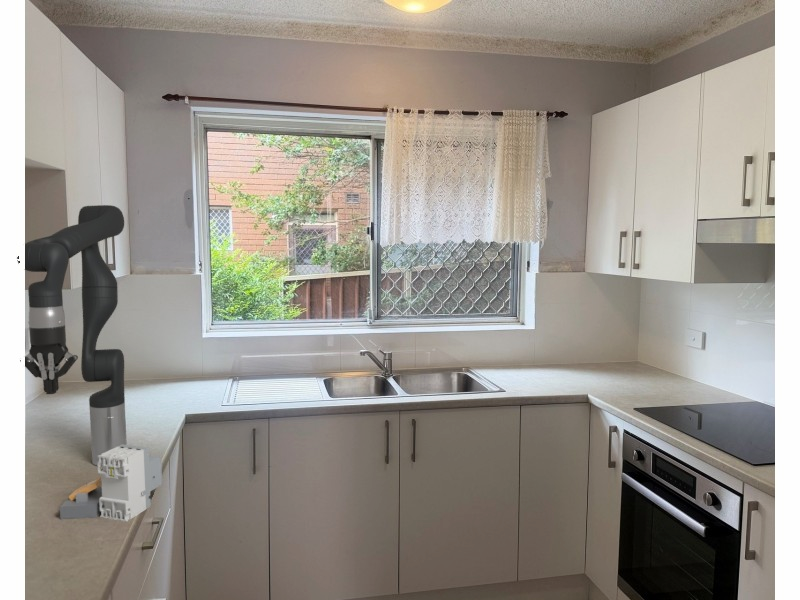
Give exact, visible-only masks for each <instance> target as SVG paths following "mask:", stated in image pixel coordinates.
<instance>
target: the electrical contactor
mask: <svg viewBox="0 0 800 600" xmlns="http://www.w3.org/2000/svg"><path fill="white" fill-rule="evenodd" d="M149 450H150V449H149V447H147V446H139V445H132V444H127V445H125V444H122V445H120V446H118V447H115V448H113V449H111V450H109V451H107V452H105V453H102V454H101V455H98V457H99V462H98V464H97V465H98V466H97V465H96V466H97V474H100V477H101V487H102V497H100V498H99V505H100V511H101V513H100V515H99V518H101V517H103V518H102V519H107V518H109V519H108V520H113V519H114V520H115V521H119V520H121V521H120V522H125V521H126V523H127V522H128V521H129V520H131V519H133V518H135V517H136V516H138V515H139V514H141V513H143V512H144V511H145V510H147V509H148V508H149V509H150V507H151V506H152V505H151V504H152V503H151V501H152V499H151V498H150V497H151V492H152V491H154V490H155V489H156V488H159V487H161V486H162V485H163V472H162V471H163V470H162V469H163V463H162V455H157V454H151V453H150V452H149ZM101 467H102V468H101ZM102 505H104V507H103V508H102ZM108 516H109V517H108ZM114 520H113V521H114Z"/></svg>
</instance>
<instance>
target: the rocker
mask: <svg viewBox="0 0 800 600" xmlns="http://www.w3.org/2000/svg"><path fill="white" fill-rule="evenodd" d="M100 485H102V483H101V476H100V477H97V478H96V479H93V480H92V481H89V482H88V484H87V483H85V484H84V485H82V486H80V487H78V488H76V489H75V490H74V491H72V493H71V494H70V495H68V498H70V500H71V501H72V500H74V499H76V494H77V493H87V492H88V493H89V492H90V491H92V490H94V489H96V488H98V487H99V486H100Z"/></svg>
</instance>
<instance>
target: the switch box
mask: <svg viewBox="0 0 800 600" xmlns="http://www.w3.org/2000/svg"><path fill="white" fill-rule="evenodd" d="M88 483H89V482H88ZM88 483H87V482H86V484H88ZM100 497H102V486H101V487H99V486H98V488H96V489H94V490H92V491H90V492H89V493H88V492H87V493H77V494H76V499H74V500H72V501H71V500H70V498H69V497H68V498H67V499H65V501H64V502H63V503H62V504H61V505H60V506H59V517H60V520H66V519H67V520H68V519H69V520H70V519H87V518H97V517H98V516H100V515H101V511H100V505H99V498H100ZM103 507H104V505H102V508H103Z"/></svg>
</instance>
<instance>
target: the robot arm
mask: <svg viewBox="0 0 800 600" xmlns="http://www.w3.org/2000/svg"><path fill="white" fill-rule="evenodd" d="M77 218H78V219H77V224H72V225H69V226H67V227H64V228H62V229H60V230H58V231H56V232H55V233H53V234H51V235H49V236H45V237H41V238H37V239H34V240H30V241H28V242H25V243H24V244H25V269H24V271H26V272H32V273H35V272H36V273H38V272H39V273H42V272H43V273H46V274H45V277H44V279H43V280H40V281H37V282H32V283H30V284H29V286H28V291H27V292H28V294H27V295H28V304H29V305H28V307H29V308H28V309H29V311H28V326H29V327H28V328H29V329H28V330H29V343H30V348H29V351H28V354H26V355H25V356H24V357H25V366H24V367H25V368H26V369H27V370H28V372H30V374H32V376H33V377H34V378H40V379H41V380H42V382H43V392H44V393H45V394H46V395H55V394H56V393H57V392H58V391H59V388H60V387H59V386H60V385H59V378H60V377H62V376H64V375H66V374H67V373H68V371H70V369H71V367H73V365H74V364H75V363H76V361H77V360H78V358H79V356H78V355H77V354H73V353H70V352H69V348H68V346H67V338H66V336H67V335H66V317H65V310H64V306H63V305H64V303H63V286H64V282H65V278H66V273H67V270H68V267H69V260H70V259H71V258H73V257H75V256H76V255H78V254H79V253H80V254H81V255H80V256H81V278H82V279H81V303H82V305H81V306H82V343H81V345H82V346H81V358H80V359H81V360H80V362H81V364H80V366H81V367H80V369H81V376H82V379H83V380H84V381H85V382H86V383H93V382H94V383H96V382H99V383H100V382H110V385H109V386H107V387H106V388H104V389H101V390H99V391H96V392H94V393H92V394H91V395H90V396H89V398H88V401H89V405H88V406H89V419H90V420H89V421H90V438H91V439H90V440H91V442H90V443H91V461H92V465H94V466H97V467H98V465H97V464H98V462H99V457H98V455H101V454H102V453H105V452H107V451H109V450H111V449H113V448H115V447H118V446H120V445H122V444H125V445H128V443H127V425H126V424H127V423H126V422H127V421H126V401H125V400H126V398H125V355H124V353H123V351H122V350H121V349H119V348H107V349H106V348H105V349H97V342H98V338H99V336H100V334H101V332H102V329H103V328H104V326H105V325H106V323H107V322H108V321H109V319H110V318H111V317H112V315H113V313H114V312H115V310H116V309H117V306H118V304H119V303H118V299H119V298H118V281H117V279H116V276H115V275H114V273H113V272H112V270H111V268H110V267H109V266H108V264H107V263H106V262H105V260H104V258H103V257H102V254H101V251H100V246H99V242H103V241H105V240H107V239H109V238H113V237H116V236H119V235H120V234H121V233H122V232H123V231H124V228H125V217H124V214H123V212H122V210H121V209H120V208H119V207H117V206H115V205H112V204H111V205H110V204H109V205H107V204H104V205H103V204H102V205H100V204H99V205H86V206H82V207H81V208H80V210H79V213H78V217H77ZM16 259H19V256H18V257H17V256H16ZM17 263H18V264H19V263H20V261H18V260H17ZM63 360H64V364H63V365H62V366H61V363H62V361H63ZM19 361H20V362H21V360H20V359H19Z"/></svg>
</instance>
